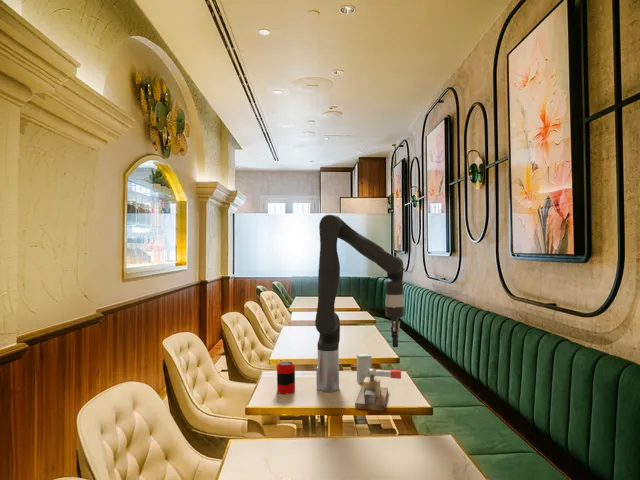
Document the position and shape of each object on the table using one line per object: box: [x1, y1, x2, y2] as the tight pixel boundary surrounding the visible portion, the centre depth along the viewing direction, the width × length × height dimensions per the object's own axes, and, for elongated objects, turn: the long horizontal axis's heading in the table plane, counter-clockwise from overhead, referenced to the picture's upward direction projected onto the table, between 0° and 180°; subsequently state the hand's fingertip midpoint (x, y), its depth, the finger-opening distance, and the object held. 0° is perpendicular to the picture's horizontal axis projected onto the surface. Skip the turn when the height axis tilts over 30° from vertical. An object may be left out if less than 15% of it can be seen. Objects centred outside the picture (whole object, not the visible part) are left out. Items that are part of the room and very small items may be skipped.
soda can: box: [276, 361, 296, 395], centre depth 177 cm, size 8×8×12 cm
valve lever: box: [368, 367, 402, 380], centre depth 166 cm, size 13×3×3 cm, turn 76°
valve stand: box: [354, 377, 389, 411], centre depth 167 cm, size 11×19×10 cm, turn 166°
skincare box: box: [356, 353, 372, 384], centre depth 188 cm, size 6×4×12 cm
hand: (395, 346), depth 171 cm, fingers closed
